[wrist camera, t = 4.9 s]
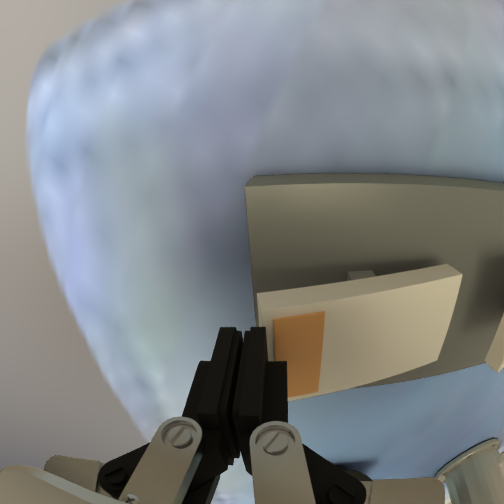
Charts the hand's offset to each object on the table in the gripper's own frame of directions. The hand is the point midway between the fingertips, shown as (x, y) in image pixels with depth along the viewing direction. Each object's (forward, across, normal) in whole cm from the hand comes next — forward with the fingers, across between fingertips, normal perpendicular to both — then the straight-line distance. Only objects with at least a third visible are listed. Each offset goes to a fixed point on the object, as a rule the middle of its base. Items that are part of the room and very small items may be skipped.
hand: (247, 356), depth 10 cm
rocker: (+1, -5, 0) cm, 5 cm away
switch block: (+7, -11, 0) cm, 13 cm away
